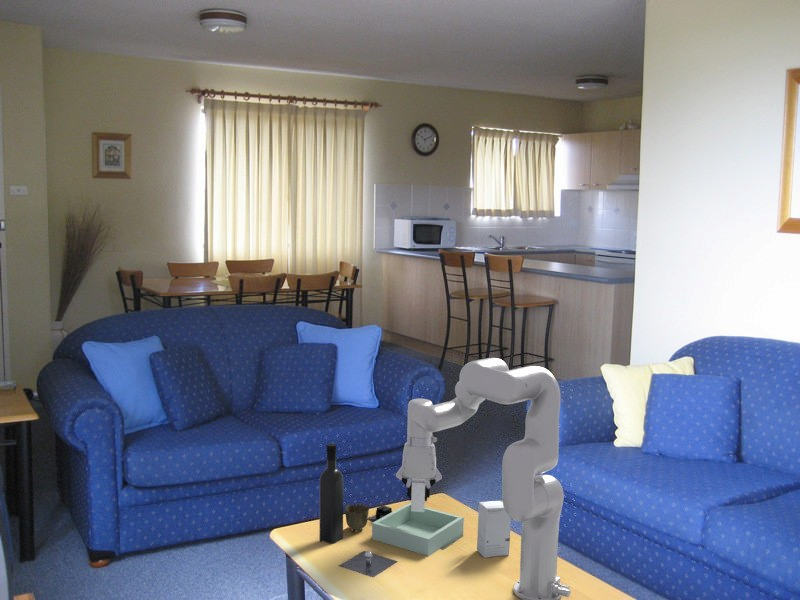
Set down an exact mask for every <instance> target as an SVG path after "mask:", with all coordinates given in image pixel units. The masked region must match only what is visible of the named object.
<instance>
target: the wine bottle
mask: <svg viewBox="0 0 800 600" xmlns="http://www.w3.org/2000/svg"><path fill="white" fill-rule="evenodd" d="M337 447H338V446H337V444H336V443H328V444H326V468H325V469H324V470H323V471H322V472H321V475H320V477H319V529H318V530H319V536H318V537H319V539H318V540H319V543H321V542H325V543H328V544H336V543H339V542H340V541H341V540H343V539H344V476H343V474H342V472H341V471H340V469H338V468H337V451H338V450H337Z"/></svg>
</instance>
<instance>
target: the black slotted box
mask: <svg viewBox="0 0 800 600" xmlns="http://www.w3.org/2000/svg"><path fill="white" fill-rule="evenodd" d="M392 508H393V507H389V506H386V505H383V504H382V505H379V506H378V507H376V510H375V515H372V516H370V517H368V520H367V521H369V522H372V523H373V522H375V521H377V520H379V519H380V518H382V517H384V516H386V515H388V514H390V513H392V512H393V510H392Z"/></svg>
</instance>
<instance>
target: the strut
mask: <svg viewBox="0 0 800 600" xmlns="http://www.w3.org/2000/svg"><path fill="white" fill-rule="evenodd" d="M411 483H412V494H411V501H410V503H411V511H414V512H424V511H425V507H426V501H425V486H426V481H425V479H419V478H412V481H411Z"/></svg>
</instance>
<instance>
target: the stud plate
mask: <svg viewBox="0 0 800 600" xmlns="http://www.w3.org/2000/svg"><path fill="white" fill-rule="evenodd" d="M398 562H399V561H397V560H395V559H391V558H388V557H385V556H382V555H379V554H376V553H373V552H372V551H371V550H367V551H366V550H362V551H361V552H360V553H359V552H358V554H356V555H354V556H352V557H351V558H349V559H347V560H346V561H344V562H342V563H341V564H339V565H338V567H341V568H342V569H347V570H350V571H353V572H355V573H359V574H362V575H364V576H368V577H370V578H375V577H376V576H378V575H380V574H382V573H383V572H384V571H386V570H388V569H389V568H391V567H392V566H394V565H396V564H397V563H398Z"/></svg>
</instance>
